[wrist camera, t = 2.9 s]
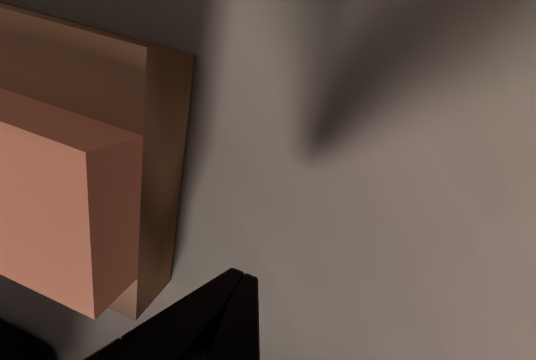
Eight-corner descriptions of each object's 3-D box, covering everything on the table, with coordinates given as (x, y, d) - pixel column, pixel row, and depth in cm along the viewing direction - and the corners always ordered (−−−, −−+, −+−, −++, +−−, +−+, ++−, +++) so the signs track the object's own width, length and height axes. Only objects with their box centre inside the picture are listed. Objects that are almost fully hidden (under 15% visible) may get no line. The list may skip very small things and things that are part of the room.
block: (143, 135, 8) (85, 152, 6) (137, 278, 11) (94, 319, 9) (-71, 63, 10) (-168, 60, 8) (-33, 204, 12) (-100, 226, 10)
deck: (169, 281, 14) (135, 320, 12) (19, 216, 15) (-37, 239, 13) (195, 54, 9) (146, 47, 7) (-21, -4, 11) (-116, -26, 9)
